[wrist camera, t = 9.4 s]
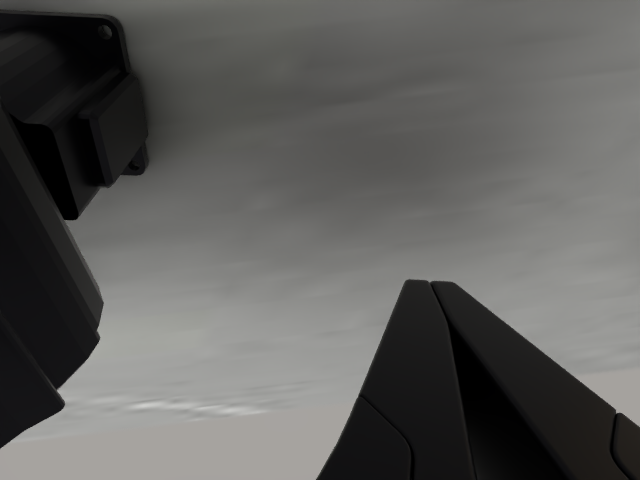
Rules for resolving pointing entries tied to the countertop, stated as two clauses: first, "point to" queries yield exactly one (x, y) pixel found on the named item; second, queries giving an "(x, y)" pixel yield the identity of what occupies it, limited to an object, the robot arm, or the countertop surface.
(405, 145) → the countertop surface
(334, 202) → the countertop surface
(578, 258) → the countertop surface
